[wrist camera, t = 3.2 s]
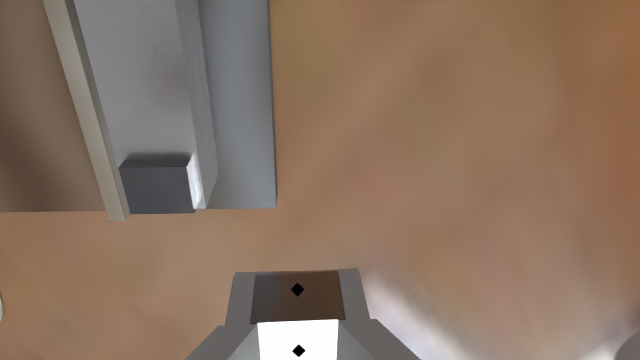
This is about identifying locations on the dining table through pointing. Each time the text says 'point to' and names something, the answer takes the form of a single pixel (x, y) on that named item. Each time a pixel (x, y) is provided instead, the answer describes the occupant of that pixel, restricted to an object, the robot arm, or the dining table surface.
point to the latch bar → (154, 99)
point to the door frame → (89, 121)
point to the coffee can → (1, 310)
